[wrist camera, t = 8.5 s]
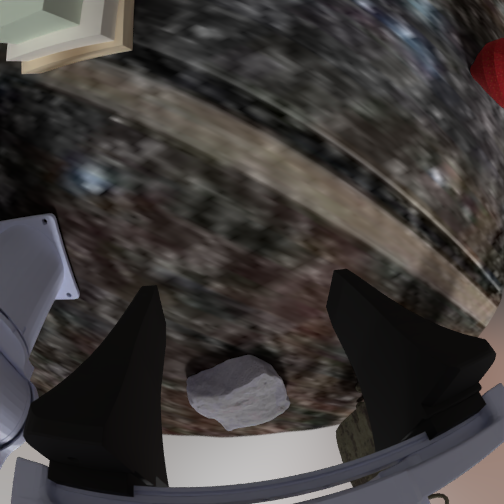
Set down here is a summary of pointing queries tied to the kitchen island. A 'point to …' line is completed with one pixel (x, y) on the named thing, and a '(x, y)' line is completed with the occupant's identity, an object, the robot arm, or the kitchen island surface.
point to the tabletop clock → (360, 441)
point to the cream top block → (72, 33)
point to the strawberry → (491, 70)
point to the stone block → (238, 392)
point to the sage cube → (36, 18)
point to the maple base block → (92, 51)
